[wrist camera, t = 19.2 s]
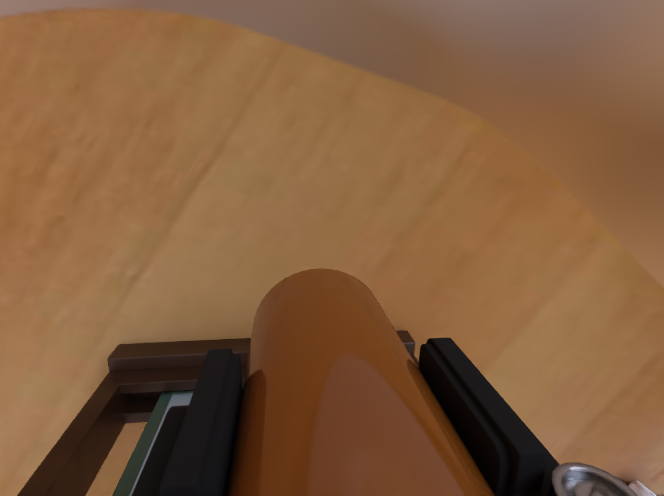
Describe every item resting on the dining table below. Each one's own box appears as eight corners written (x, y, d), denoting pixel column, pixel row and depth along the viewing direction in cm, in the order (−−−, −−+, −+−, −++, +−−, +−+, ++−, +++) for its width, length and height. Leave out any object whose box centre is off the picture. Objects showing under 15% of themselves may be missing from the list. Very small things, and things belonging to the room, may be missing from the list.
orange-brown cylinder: (250, 269, 12) (176, 556, 4) (385, 266, 13) (587, 507, 4) (255, 389, 14) (208, 811, 5) (379, 382, 14) (527, 748, 6)
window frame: (118, 343, 21) (-108, 624, 9) (407, 330, 24) (548, 540, 11) (127, 404, 22) (-64, 729, 10) (402, 385, 25) (526, 633, 12)
